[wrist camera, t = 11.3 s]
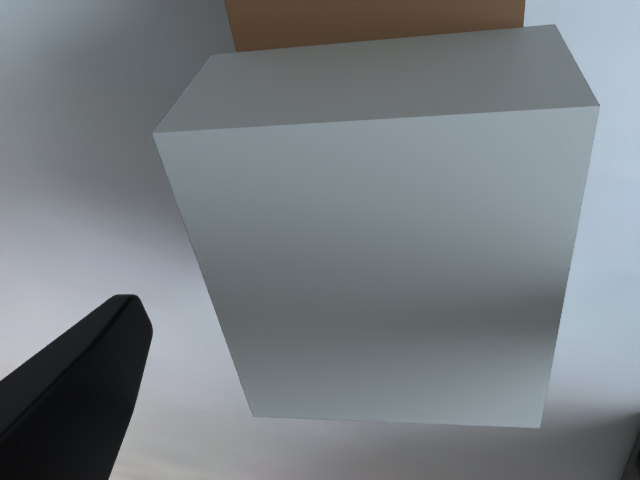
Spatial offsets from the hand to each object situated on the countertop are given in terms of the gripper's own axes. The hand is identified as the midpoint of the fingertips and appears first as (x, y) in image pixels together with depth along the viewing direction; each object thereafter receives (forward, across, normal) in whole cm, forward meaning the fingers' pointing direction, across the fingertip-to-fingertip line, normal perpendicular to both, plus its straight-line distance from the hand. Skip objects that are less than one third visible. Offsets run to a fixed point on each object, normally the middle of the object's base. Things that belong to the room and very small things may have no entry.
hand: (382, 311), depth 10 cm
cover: (+3, 0, 0) cm, 3 cm away
